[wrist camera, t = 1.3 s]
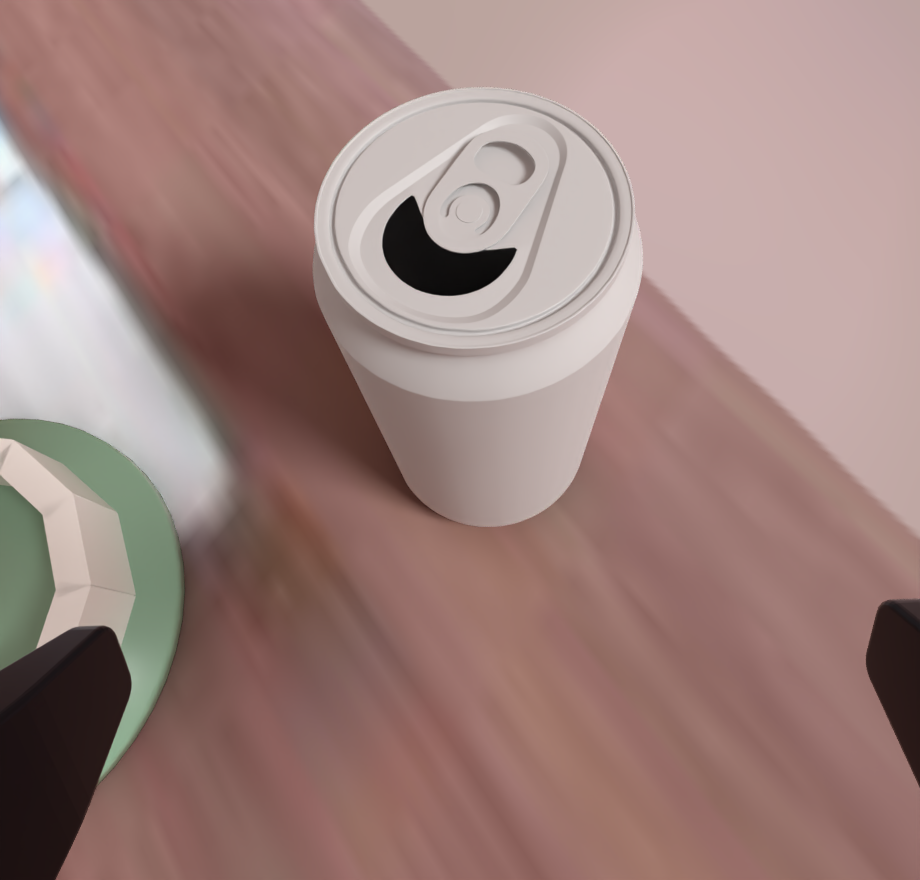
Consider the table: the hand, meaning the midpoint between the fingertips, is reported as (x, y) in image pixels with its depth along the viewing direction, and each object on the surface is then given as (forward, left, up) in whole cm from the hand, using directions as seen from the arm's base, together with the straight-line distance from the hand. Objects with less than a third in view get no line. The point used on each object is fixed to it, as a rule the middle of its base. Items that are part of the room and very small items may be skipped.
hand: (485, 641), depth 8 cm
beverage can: (+7, -3, -13) cm, 15 cm away
